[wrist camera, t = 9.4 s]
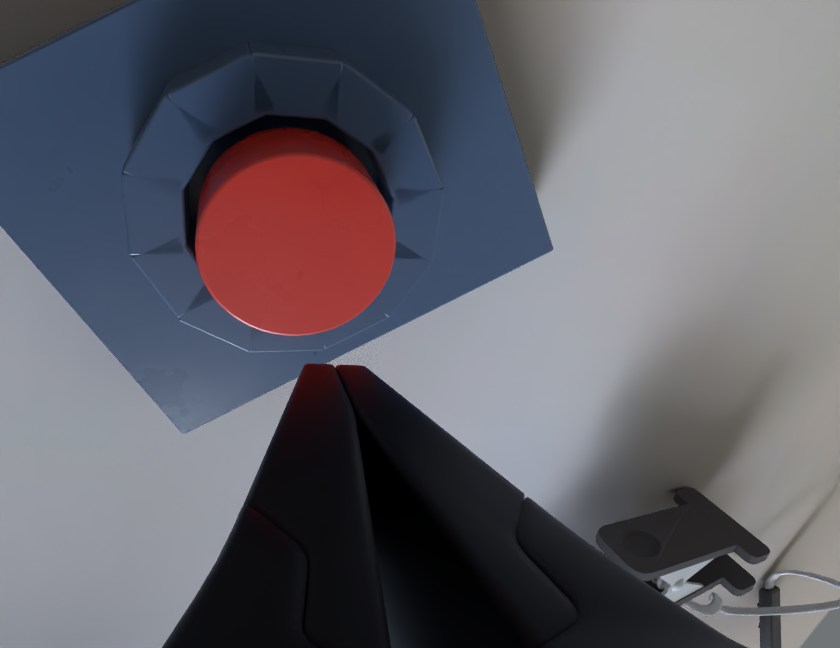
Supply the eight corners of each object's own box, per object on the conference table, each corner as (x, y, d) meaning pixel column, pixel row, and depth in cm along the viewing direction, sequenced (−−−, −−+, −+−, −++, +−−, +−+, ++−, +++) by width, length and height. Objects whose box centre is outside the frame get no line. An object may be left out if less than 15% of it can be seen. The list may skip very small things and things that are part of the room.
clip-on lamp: (792, 475, 36) (582, 483, 26) (910, 556, 32) (711, 606, 21) (692, 630, 40) (472, 691, 30) (785, 723, 35) (562, 837, 25)
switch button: (256, 320, 16) (260, 367, 14) (160, 178, 14) (151, 212, 12) (403, 247, 16) (425, 285, 14) (330, 94, 14) (346, 116, 12)
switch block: (186, 391, 20) (179, 478, 17) (-59, 93, 15) (-141, 137, 12) (525, 222, 21) (583, 277, 17) (406, -136, 15) (457, -158, 12)
